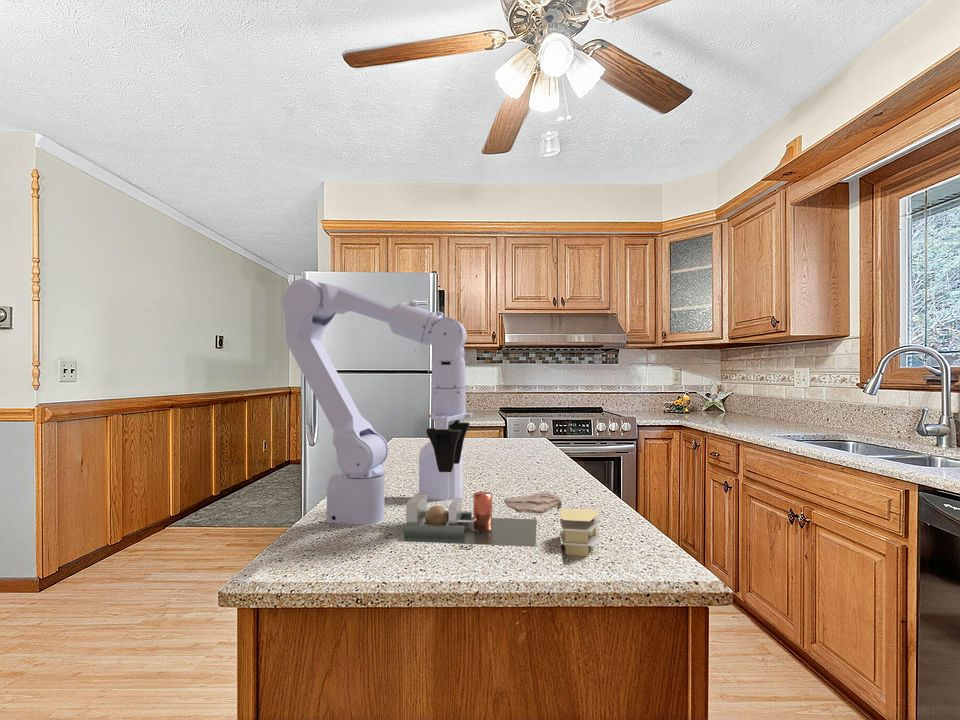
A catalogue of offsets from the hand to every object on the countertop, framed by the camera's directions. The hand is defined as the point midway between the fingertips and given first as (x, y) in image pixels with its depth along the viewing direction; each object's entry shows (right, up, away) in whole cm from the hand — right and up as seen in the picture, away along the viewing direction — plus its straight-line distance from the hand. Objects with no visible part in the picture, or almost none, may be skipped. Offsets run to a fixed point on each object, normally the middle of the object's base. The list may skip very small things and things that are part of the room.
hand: (449, 467), depth 90 cm
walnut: (-2, -9, -4) cm, 10 cm away
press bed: (+4, -10, -5) cm, 12 cm away
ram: (+4, -9, -5) cm, 11 cm away
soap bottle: (-3, -11, +19) cm, 22 cm away
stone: (+15, -11, +11) cm, 22 cm away
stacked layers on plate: (+20, -11, -10) cm, 25 cm away
